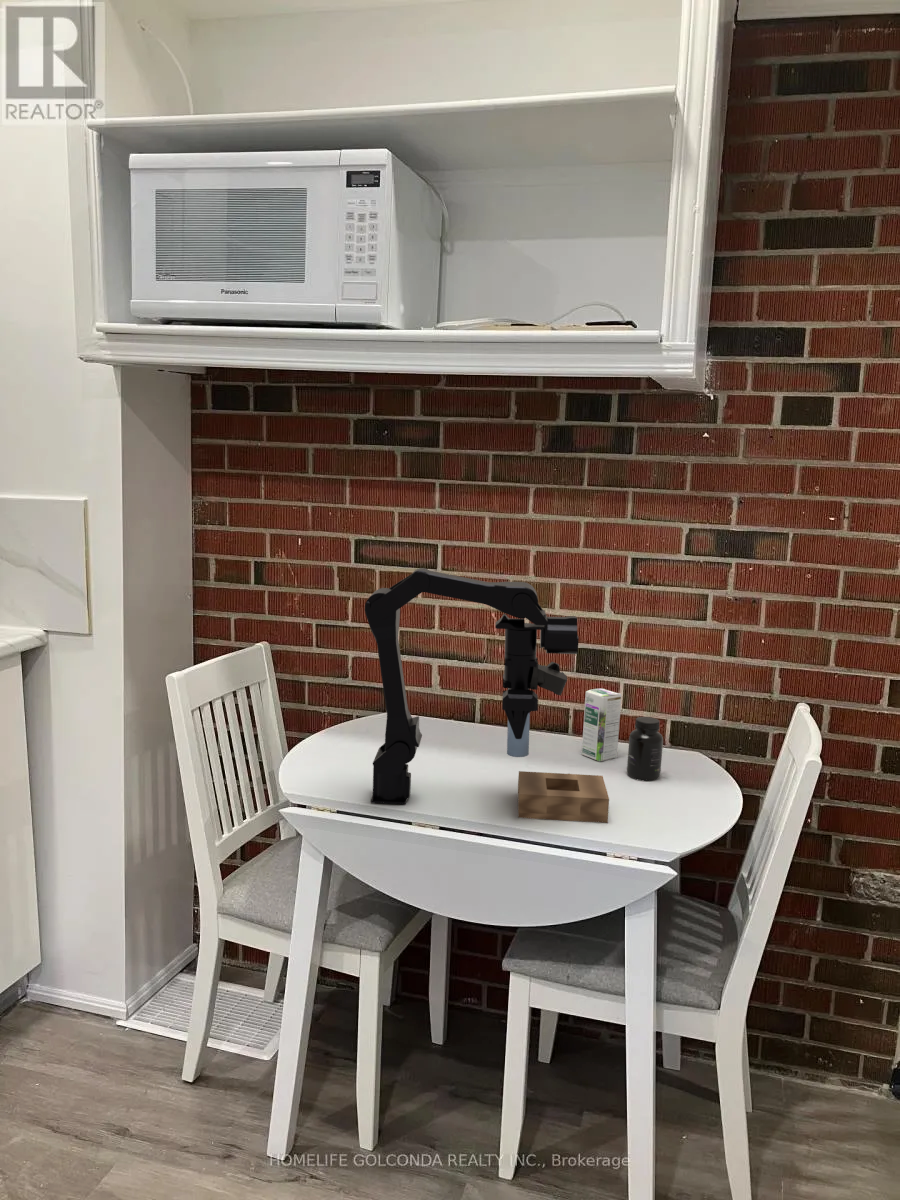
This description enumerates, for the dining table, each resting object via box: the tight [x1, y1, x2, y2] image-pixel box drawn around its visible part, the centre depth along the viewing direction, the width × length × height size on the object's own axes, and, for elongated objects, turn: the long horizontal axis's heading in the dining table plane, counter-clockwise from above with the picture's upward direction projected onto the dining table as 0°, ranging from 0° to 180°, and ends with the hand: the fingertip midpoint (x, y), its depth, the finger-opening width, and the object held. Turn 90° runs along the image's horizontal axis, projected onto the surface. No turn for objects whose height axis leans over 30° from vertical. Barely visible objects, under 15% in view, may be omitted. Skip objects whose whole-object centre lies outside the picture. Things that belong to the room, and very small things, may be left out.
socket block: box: [517, 770, 610, 824], centre depth 176 cm, size 16×12×4 cm
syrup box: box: [581, 688, 622, 763], centre depth 205 cm, size 6×6×14 cm
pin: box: [506, 712, 531, 758], centre depth 175 cm, size 4×4×10 cm
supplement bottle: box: [626, 716, 664, 782], centre depth 194 cm, size 7×7×12 cm
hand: (518, 735), depth 175 cm, fingers closed on pin, 4 cm apart
